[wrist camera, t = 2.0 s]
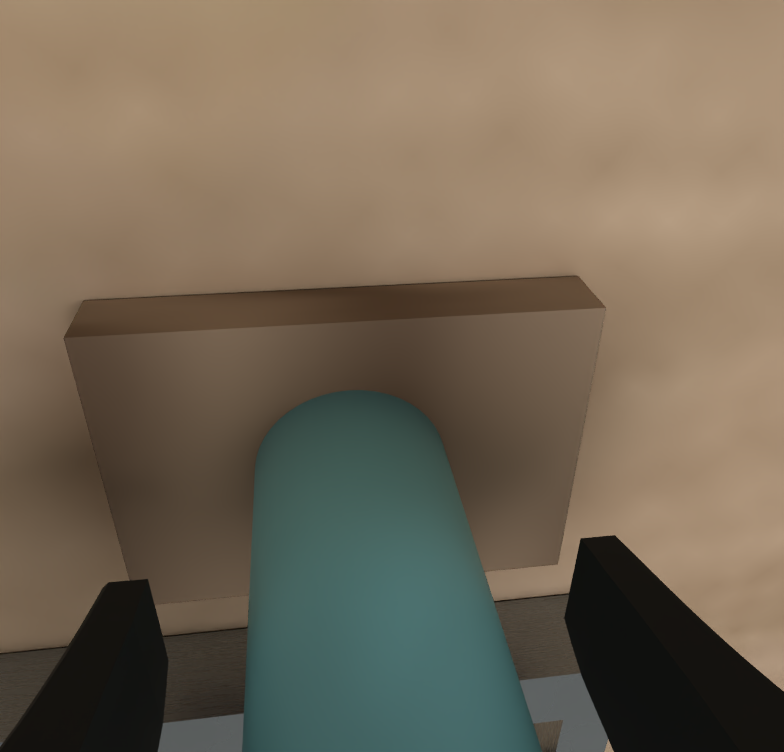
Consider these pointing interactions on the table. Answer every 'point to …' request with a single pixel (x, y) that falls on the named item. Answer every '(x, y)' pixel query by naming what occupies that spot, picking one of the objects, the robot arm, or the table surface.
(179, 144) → the table surface
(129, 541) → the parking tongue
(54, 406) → the table surface
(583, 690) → the plate
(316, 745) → the peg
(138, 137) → the table surface
